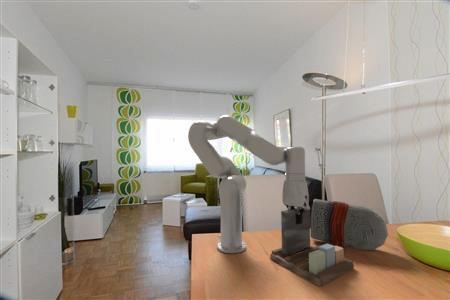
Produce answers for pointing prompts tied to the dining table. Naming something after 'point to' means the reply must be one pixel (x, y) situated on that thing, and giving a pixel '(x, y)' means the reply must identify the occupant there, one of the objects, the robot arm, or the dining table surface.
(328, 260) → the slate offcut board
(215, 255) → the dining table surface
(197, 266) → the dining table surface
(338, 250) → the terracotta offcut board
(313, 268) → the sage offcut board
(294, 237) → the charcoal panel
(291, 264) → the walnut rack
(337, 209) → the decorative stone tablet
